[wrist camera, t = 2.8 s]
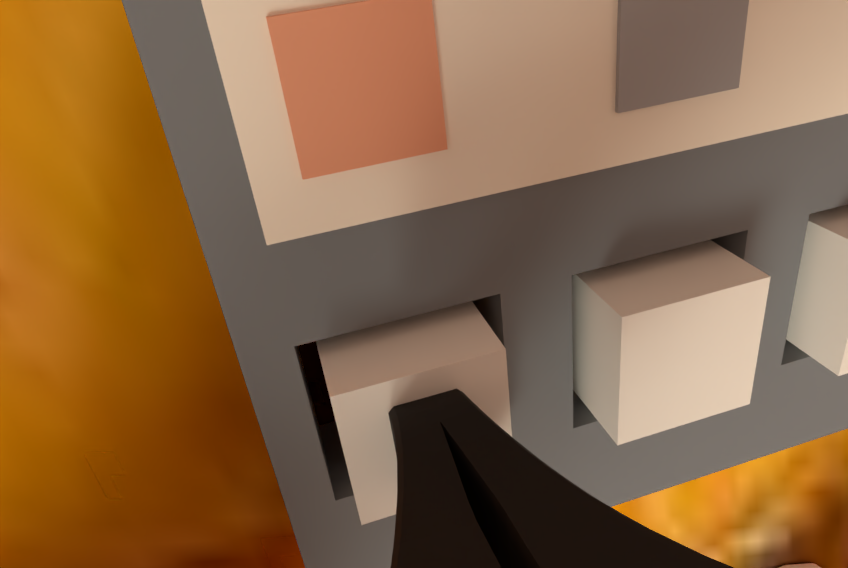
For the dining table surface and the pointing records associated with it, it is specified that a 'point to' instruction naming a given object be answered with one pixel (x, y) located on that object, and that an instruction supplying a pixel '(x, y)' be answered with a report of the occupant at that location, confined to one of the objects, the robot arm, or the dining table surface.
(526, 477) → the robot arm
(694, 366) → the middle button
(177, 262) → the dining table surface
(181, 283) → the dining table surface
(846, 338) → the button
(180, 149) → the button board
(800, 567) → the white cup
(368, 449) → the button
